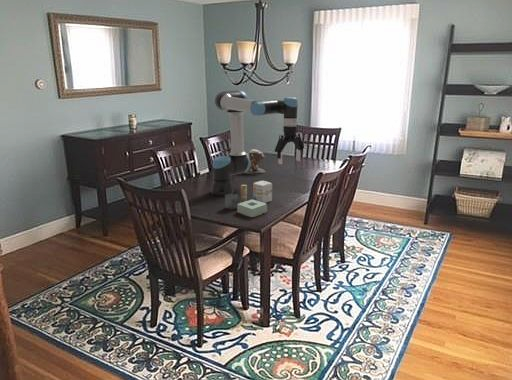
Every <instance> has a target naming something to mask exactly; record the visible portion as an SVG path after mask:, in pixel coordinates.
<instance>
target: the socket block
mask: <svg viewBox="0 0 512 380" xmlns="http://www.w3.org/2000/svg"><path fill="white" fill-rule="evenodd" d="M236 210H237V211H236V212H237V213H238V214H242V215H243V216H246V217H250V218H252V217H253V218H255V217H258V216H261V215H263V213H264V214H266V213H268V204H267V203H263V202H259V201H256V200H253V199H252V198H251V199H249V200H248V199H247V201H245V202H242V203H241V202H238V204H237V209H236Z"/></svg>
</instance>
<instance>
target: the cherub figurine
mask: <svg viewBox="0 0 512 380" xmlns="http://www.w3.org/2000/svg"><path fill="white" fill-rule="evenodd" d="M247 156H248V157H249V159H250V162H251V164H250V168H249V170H248V171H247V172H244V173H243V174H249V175H257V174H259V175H263V174H264V173H267V172H266V170H264V169H263V168H261V167H260V168H259V165H258V164H259V163H262V162H264V160H265V158H266V157H265V155H264V153H263V152H261V151H260V150H259V149H255V148H254V149H253V148H252V149H250V150H249V153H247Z"/></svg>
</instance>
